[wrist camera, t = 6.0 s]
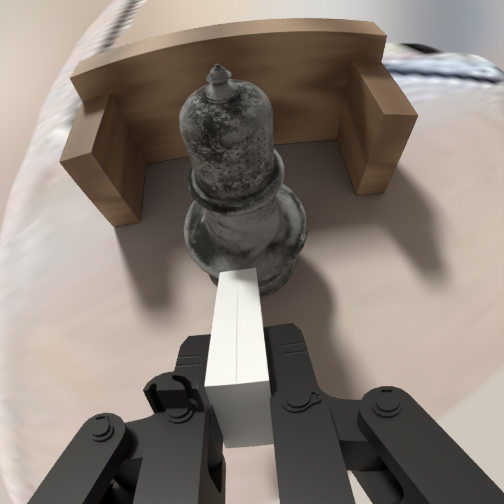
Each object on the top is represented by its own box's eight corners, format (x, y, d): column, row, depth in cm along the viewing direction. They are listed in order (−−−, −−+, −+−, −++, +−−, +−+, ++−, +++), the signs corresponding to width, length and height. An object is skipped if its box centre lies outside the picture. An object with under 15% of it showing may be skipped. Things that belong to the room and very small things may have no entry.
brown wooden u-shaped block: (353, 121, 22) (373, 22, 14) (383, 193, 19) (429, 85, 11) (125, 150, 22) (79, 61, 14) (113, 226, 19) (39, 136, 11)
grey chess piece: (316, 230, 18) (353, 42, 7) (276, 321, 16) (281, 176, 5) (228, 197, 19) (187, 19, 9) (181, 277, 17) (68, 121, 7)
